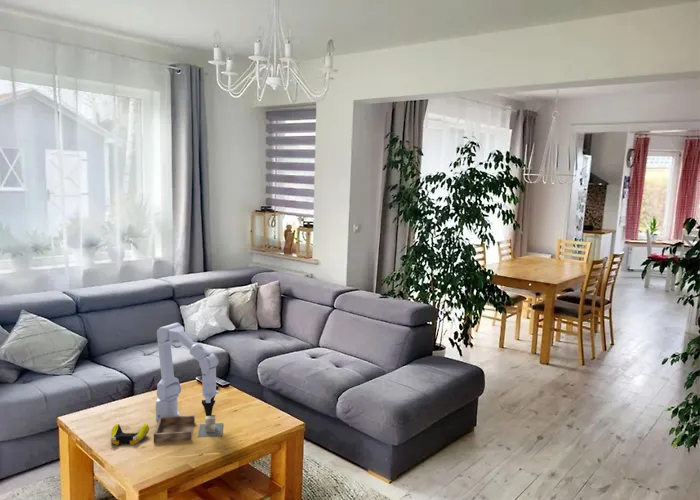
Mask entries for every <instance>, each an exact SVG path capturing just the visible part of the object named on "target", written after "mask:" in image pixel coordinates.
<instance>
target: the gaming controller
mask: <svg viewBox="0 0 700 500" xmlns="http://www.w3.org/2000/svg"><path fill="white" fill-rule="evenodd" d="M149 431H150V427H149V425H148V424H147V423H144V424H142V426H141V427H140V429H139V431H138V432H131V433H130V432H123V430H122V426H120V424H119V423H115V424H114V425H113V426H112V428H111V437H110V441H111V443H112V444H113V445H116V446H120V445H130V446H133V445H136V444H139V443H140V442H142V441H143V440H144V439H145V437H146V436H147V435H148V433H149Z"/></svg>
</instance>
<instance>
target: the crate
mask: <svg viewBox="0 0 700 500" xmlns="http://www.w3.org/2000/svg"><path fill="white" fill-rule="evenodd" d="M195 417H196V416H195V415H193V414H192V415H180V416H179V415H178V416H176V417H160V418H159V420H157V424H156V425H155V426H156V427H155V429H154V431H153V443H166V442H167V443H168V442H169V443H170V442H182V441H183V442H184V441H192V437H193V433H194V428H195V425H196V424H195V422H196V421H195V420H196V419H195Z"/></svg>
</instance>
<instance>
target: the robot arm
mask: <svg viewBox="0 0 700 500" xmlns="http://www.w3.org/2000/svg"><path fill="white" fill-rule="evenodd" d="M184 327H185V326H183V325H182V324H181V323H180V322H174V323H171V324H168V325H164V326H160V327H159V328H158V329H157V330H156V338H157V339H156V340H157V350H158V355H159V356H158V357H159V365H160V376H161V379H160V380H159V382H158V383H157V385H156V386H157V389H156V396H157V398H156V401H155V421H158V420H159V418H160V417H176V416H179V415H180V411H178V410H179V409H178V397H179V396H180V394H181V392H182V386H181V384H180V382H179V381H180V380H179V378H177V377H175V373H174V364H173V363H174V362H173V355H172V354H173V353H172V347H171V345H172V343H173V341H177V342H180V343H181V344H182V345H183V346H184V347H186V348H187V349H188V350H189V354H190V355H191V356H192V357H193V358H194V359H195V360H196V361H197V362H198V363H199V364H198V365H199V367H200V370H201V375H202V379H201V381H202V385H201V387H202V392H201V395H202V396H203V397H204V399H203V400H201V405H202V406H203V408H204V412H205V417H206V416H211V415H213V408H214V405H215V403H216V399H215V398H216V395H218V394H219V393H220V391H219V390H217V366H219V363H220V360H219V357H218V356H217V354H216V353H212V352H210V351H208V350H207V349H205V348H204V346H203V345H202V344H200V343H196V342H194V340H193V339H191V337H190V336H189V335H188V334H187V333H186V332H185V328H184Z"/></svg>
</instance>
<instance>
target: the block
mask: <svg viewBox="0 0 700 500" xmlns="http://www.w3.org/2000/svg"><path fill="white" fill-rule="evenodd" d="M204 419H205V420H204V421H205V423H204V424H205V431H206V432H215V423H216V414H212V415H211V416H206V415H205V418H204Z"/></svg>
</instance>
